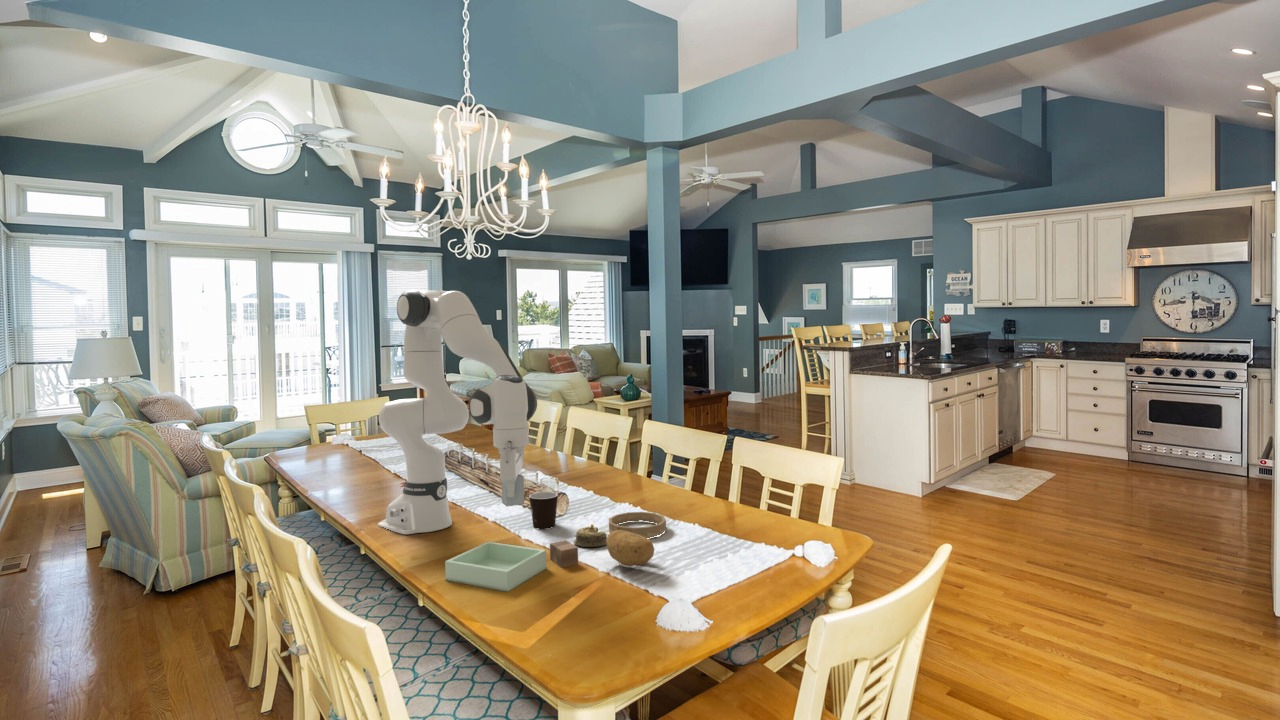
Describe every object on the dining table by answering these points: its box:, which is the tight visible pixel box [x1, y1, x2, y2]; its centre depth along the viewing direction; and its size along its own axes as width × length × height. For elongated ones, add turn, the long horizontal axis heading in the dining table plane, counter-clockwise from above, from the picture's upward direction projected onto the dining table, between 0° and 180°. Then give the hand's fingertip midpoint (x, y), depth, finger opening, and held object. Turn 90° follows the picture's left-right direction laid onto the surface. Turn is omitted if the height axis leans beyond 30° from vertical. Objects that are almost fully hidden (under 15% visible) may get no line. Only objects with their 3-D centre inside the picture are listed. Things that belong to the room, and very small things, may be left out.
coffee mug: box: [528, 491, 559, 530], centre depth 195 cm, size 12×9×10 cm
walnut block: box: [549, 539, 579, 569], centre depth 164 cm, size 4×4×7 cm
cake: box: [573, 523, 608, 548], centre depth 179 cm, size 10×10×5 cm
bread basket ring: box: [608, 511, 667, 538], centre depth 189 cm, size 17×17×4 cm
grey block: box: [501, 473, 525, 507], centre depth 163 cm, size 4×4×7 cm
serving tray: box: [444, 541, 548, 593], centre depth 156 cm, size 18×16×5 cm
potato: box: [606, 530, 655, 567], centre depth 161 cm, size 10×14×8 cm
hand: (512, 493), depth 163 cm, fingers closed on grey block, 5 cm apart
